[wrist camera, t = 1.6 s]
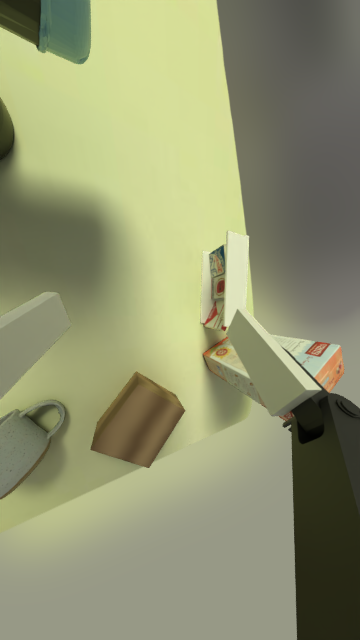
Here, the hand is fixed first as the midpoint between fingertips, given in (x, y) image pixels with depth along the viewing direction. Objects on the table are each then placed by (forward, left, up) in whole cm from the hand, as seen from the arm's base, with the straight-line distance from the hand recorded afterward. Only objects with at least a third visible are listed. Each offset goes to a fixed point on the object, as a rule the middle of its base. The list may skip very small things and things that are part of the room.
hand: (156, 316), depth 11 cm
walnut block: (+13, -16, -20) cm, 29 cm away
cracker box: (+25, +7, -20) cm, 33 cm away
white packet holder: (+11, +17, -20) cm, 28 cm away
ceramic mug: (-2, -26, -20) cm, 33 cm away
